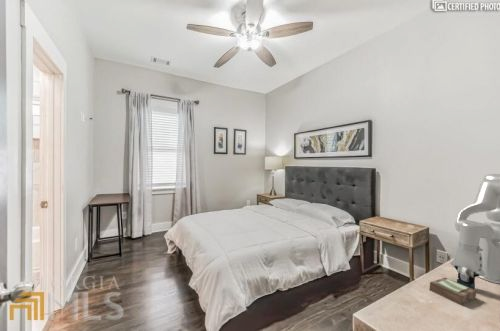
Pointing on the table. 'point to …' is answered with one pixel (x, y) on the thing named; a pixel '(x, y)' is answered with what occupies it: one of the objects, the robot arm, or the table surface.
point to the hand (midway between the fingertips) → (465, 281)
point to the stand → (453, 290)
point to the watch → (465, 278)
